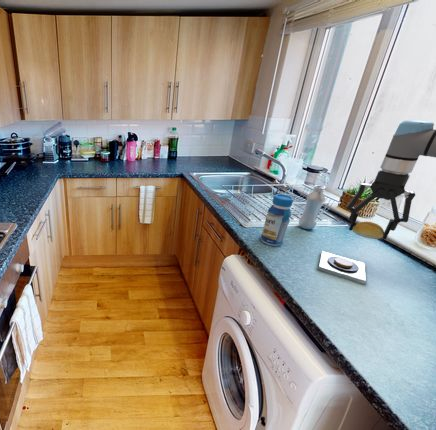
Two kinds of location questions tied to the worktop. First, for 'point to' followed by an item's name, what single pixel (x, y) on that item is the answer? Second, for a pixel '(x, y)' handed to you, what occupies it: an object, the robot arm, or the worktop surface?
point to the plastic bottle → (312, 208)
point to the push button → (342, 267)
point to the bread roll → (369, 230)
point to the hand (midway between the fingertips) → (366, 233)
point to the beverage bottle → (277, 220)
